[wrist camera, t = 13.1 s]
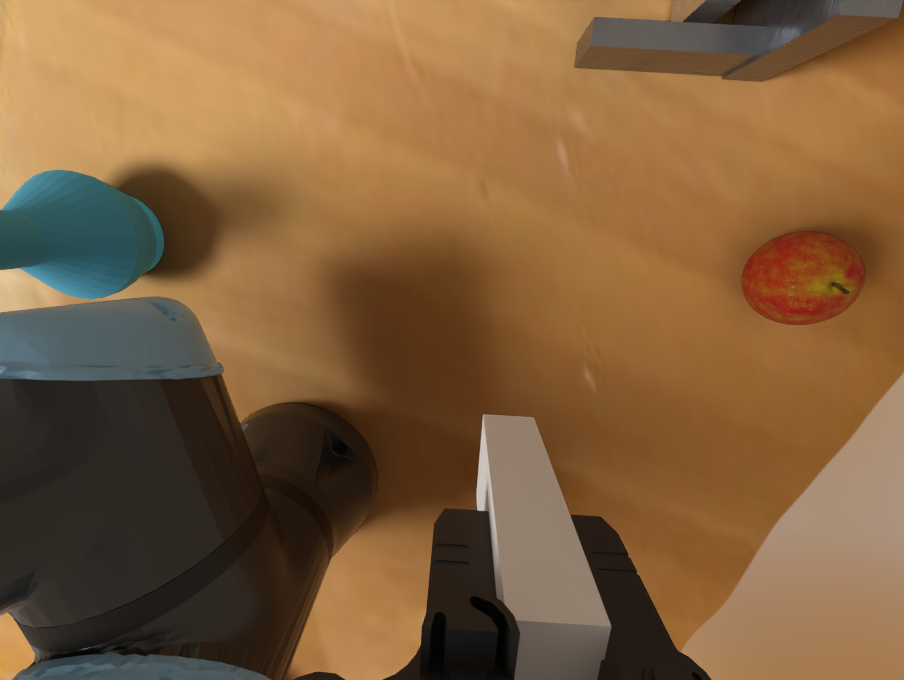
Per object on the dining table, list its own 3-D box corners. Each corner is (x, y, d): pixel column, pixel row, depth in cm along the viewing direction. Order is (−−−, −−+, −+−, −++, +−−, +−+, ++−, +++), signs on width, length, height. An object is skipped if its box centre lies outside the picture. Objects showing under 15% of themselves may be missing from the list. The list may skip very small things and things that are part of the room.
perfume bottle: (63, 266, 36) (-205, 296, 21) (77, 158, 33) (-216, 111, 19) (168, 304, 37) (-22, 358, 22) (189, 202, 34) (-10, 188, 20)
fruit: (766, 213, 33) (857, 210, 26) (827, 262, 34) (932, 273, 27) (705, 284, 35) (773, 301, 27) (764, 329, 36) (847, 358, 28)
